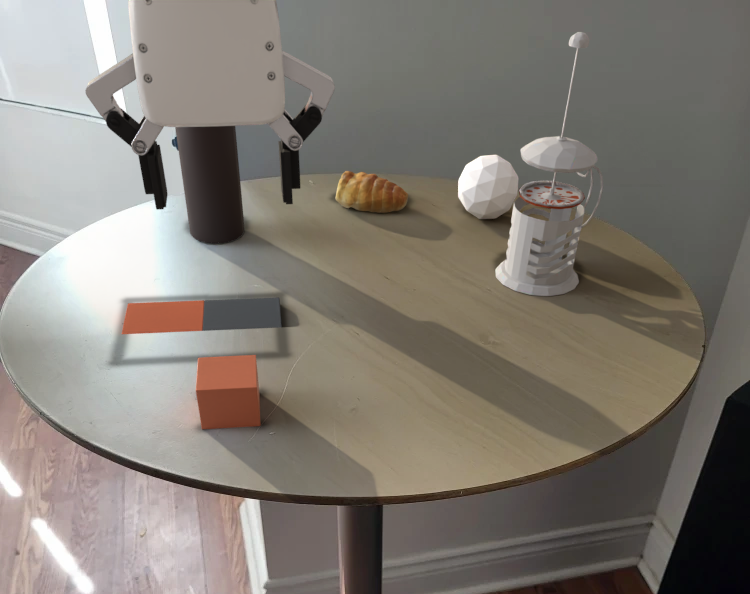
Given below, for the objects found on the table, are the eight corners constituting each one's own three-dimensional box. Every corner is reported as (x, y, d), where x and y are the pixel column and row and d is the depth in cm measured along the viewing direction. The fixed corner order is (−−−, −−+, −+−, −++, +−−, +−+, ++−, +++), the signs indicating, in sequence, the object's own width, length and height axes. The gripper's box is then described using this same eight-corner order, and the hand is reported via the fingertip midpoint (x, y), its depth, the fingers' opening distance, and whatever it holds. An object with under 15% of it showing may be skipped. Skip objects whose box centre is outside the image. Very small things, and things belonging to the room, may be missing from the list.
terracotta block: (203, 438, 67) (195, 390, 64) (204, 404, 71) (197, 357, 67) (261, 434, 68) (257, 387, 64) (260, 401, 71) (255, 354, 68)
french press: (478, 267, 92) (508, 25, 75) (554, 248, 97) (599, 15, 80) (529, 303, 86) (574, 49, 69) (608, 281, 90) (669, 37, 73)
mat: (116, 372, 74) (114, 365, 74) (129, 309, 83) (127, 303, 82) (284, 364, 76) (284, 357, 75) (279, 303, 85) (279, 297, 84)
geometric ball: (468, 231, 106) (453, 171, 105) (526, 213, 104) (512, 152, 103) (462, 224, 99) (447, 160, 98) (525, 204, 97) (509, 138, 95)
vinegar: (178, 235, 96) (151, 54, 83) (215, 217, 101) (195, 42, 87) (219, 250, 94) (198, 65, 80) (256, 230, 98) (241, 52, 84)
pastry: (412, 200, 106) (414, 172, 104) (399, 220, 102) (400, 190, 99) (347, 191, 108) (347, 163, 106) (331, 209, 104) (331, 180, 101)
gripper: (325, -79, 53) (330, 178, 64) (60, -80, 50) (115, 186, 62) (338, -62, 47) (341, 215, 59) (42, -63, 45) (105, 225, 57)
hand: (225, 200), depth 60 cm, fingers open, 9 cm apart
